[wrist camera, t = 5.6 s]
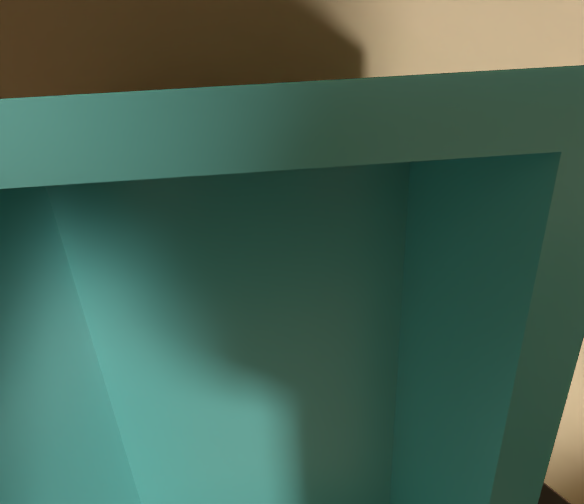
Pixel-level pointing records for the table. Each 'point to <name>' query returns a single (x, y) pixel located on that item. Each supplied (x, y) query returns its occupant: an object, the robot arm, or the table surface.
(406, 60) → the table surface
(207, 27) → the table surface
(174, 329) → the tray
